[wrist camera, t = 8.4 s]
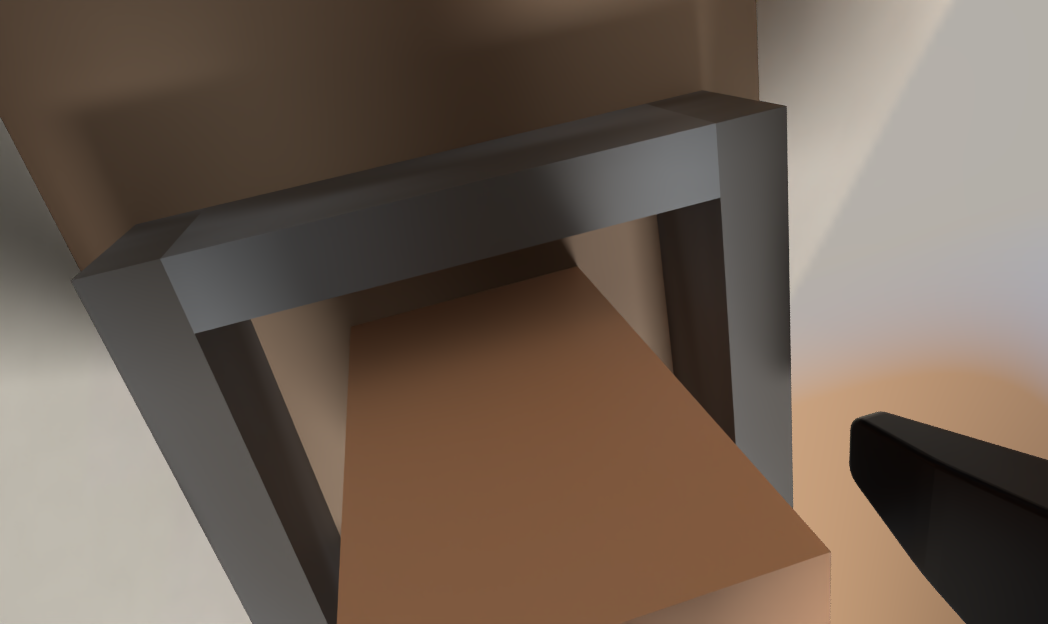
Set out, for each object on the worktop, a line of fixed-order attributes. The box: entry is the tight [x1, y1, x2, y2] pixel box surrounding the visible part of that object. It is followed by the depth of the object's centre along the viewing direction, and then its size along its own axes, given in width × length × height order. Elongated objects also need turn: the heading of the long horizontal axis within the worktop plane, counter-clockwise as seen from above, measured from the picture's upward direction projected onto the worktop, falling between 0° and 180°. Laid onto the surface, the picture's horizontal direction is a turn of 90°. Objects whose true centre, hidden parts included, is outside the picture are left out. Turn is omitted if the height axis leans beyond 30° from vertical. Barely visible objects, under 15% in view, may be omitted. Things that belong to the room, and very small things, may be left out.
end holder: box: [0, 0, 793, 624], centre depth 11 cm, size 11×18×3 cm, turn 11°
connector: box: [337, 266, 831, 624], centre depth 8 cm, size 4×4×9 cm
